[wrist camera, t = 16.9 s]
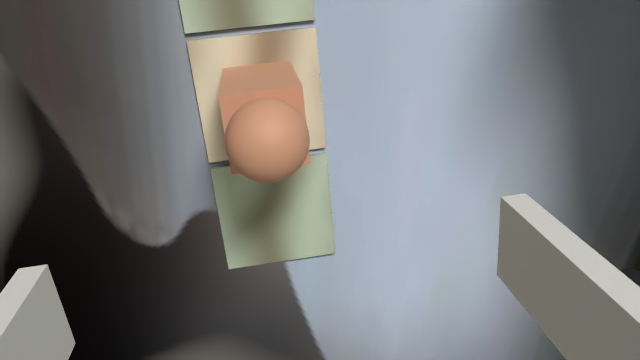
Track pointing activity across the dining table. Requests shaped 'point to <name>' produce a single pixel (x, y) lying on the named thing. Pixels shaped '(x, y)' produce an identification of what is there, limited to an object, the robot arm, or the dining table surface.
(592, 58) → the dining table surface
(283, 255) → the track
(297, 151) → the orange-brown peg figure
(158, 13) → the dining table surface
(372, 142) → the dining table surface
